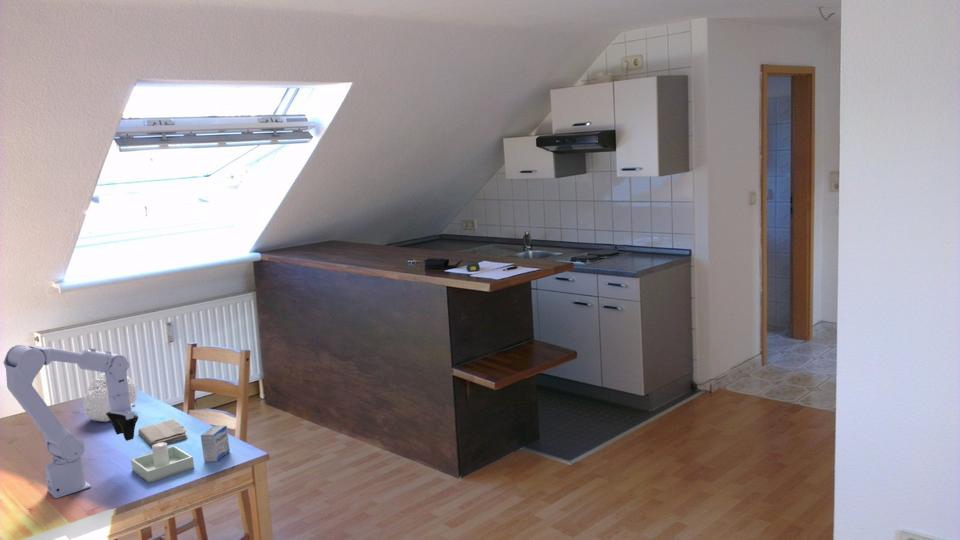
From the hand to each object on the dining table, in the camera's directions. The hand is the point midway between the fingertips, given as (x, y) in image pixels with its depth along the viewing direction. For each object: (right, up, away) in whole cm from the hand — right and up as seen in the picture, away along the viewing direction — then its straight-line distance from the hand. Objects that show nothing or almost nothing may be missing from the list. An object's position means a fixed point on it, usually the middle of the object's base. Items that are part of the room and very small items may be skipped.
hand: (124, 436), depth 238 cm
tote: (+12, -9, -2) cm, 16 cm away
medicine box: (+26, -7, +5) cm, 28 cm away
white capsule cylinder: (+12, -9, -2) cm, 15 cm away
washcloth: (+2, -6, +25) cm, 26 cm away
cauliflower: (-25, -3, +47) cm, 54 cm away
